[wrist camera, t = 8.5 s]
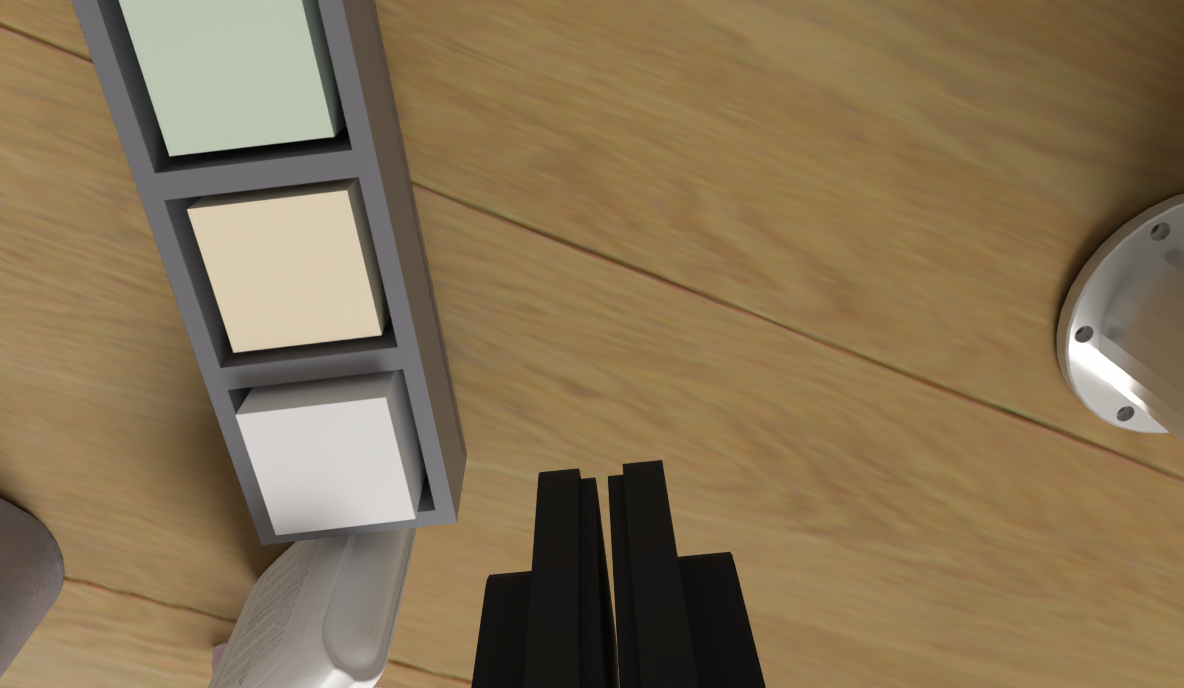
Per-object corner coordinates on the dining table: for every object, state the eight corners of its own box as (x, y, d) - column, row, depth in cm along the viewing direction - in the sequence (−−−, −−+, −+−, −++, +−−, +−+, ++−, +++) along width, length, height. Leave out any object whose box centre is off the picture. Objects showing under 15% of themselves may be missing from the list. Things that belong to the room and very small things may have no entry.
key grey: (400, 352, 38) (385, 397, 34) (427, 466, 40) (415, 518, 37) (265, 368, 38) (235, 414, 34) (300, 481, 40) (275, 535, 37)
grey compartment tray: (354, -94, 33) (320, -97, 28) (466, 454, 44) (456, 522, 39) (124, -66, 33) (49, -65, 28) (293, 475, 44) (261, 545, 39)
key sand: (367, 163, 36) (347, 190, 32) (396, 296, 38) (381, 335, 35) (223, 180, 36) (186, 209, 32) (262, 312, 38) (233, 352, 35)
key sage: (319, -48, 32) (291, -45, 29) (356, 114, 35) (334, 136, 31) (159, -29, 32) (111, -23, 29) (208, 132, 35) (169, 156, 31)
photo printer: (306, 625, 48) (234, 837, 37) (242, 583, 46) (147, 790, 35) (431, 518, 45) (394, 711, 34) (367, 469, 44) (307, 655, 33)
